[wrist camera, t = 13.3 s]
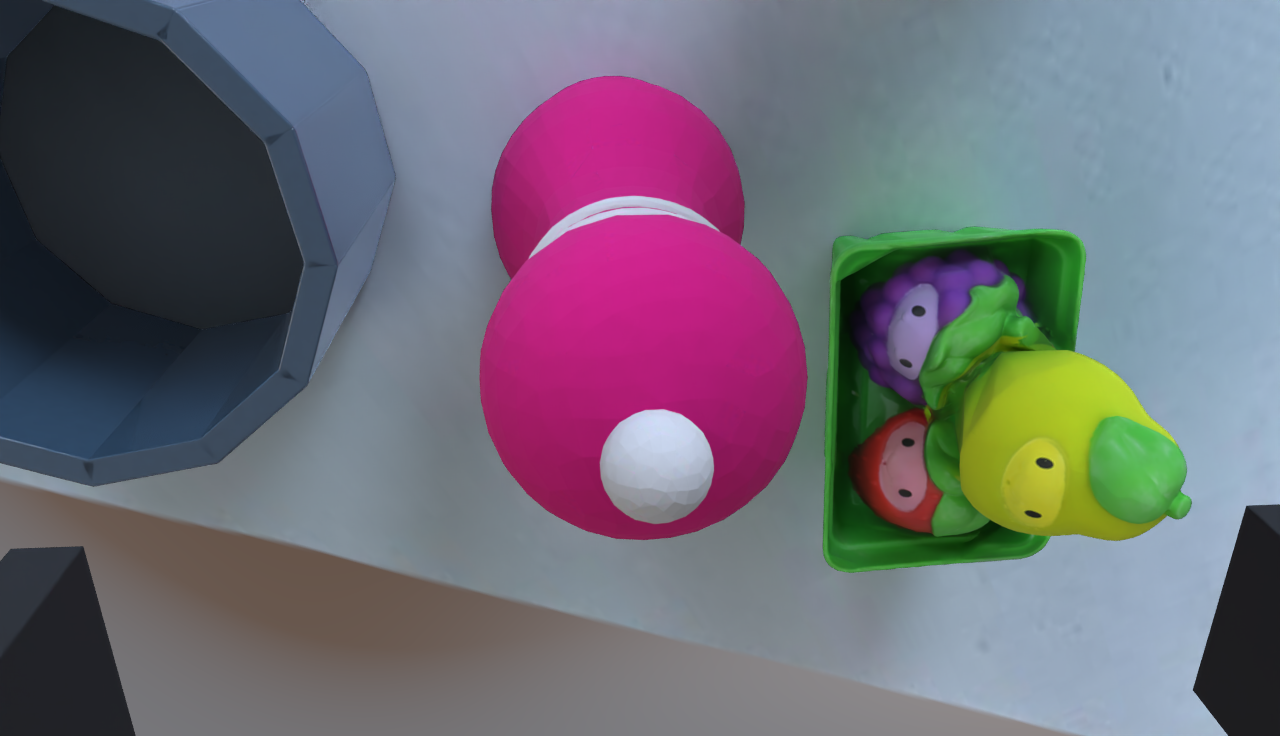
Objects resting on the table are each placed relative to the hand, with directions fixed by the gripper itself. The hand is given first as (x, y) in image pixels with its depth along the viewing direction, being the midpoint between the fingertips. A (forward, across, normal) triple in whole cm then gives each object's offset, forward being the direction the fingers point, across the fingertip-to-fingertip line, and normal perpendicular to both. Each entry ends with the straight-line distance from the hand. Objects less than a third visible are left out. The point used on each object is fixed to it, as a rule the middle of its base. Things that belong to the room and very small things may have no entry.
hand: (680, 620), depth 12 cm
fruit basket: (+24, +11, -7) cm, 27 cm away
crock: (+23, -13, 0) cm, 27 cm away
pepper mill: (+24, 0, -1) cm, 24 cm away
